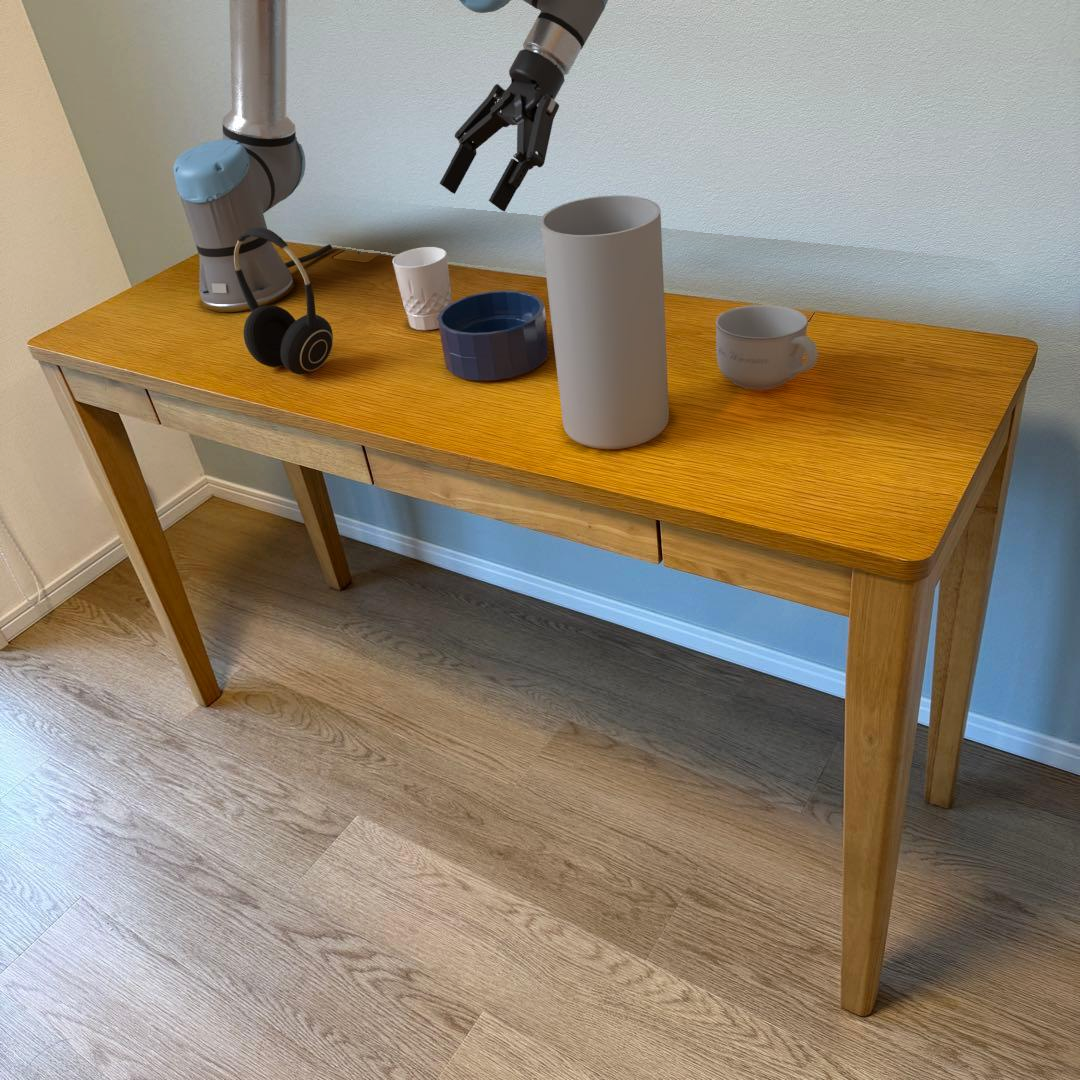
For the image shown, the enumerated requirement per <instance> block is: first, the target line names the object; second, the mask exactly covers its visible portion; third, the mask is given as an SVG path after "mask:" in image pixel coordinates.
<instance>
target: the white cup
mask: <svg viewBox="0 0 1080 1080" xmlns="http://www.w3.org/2000/svg"><path fill="white" fill-rule="evenodd" d="M391 261H392V266H393V270H394V274H395V278H396V282H397V285H398V291H399V294H400V297H401V301H402V304H403V308H404V310H405V314H406V317H407V321H408V324H409V327H410V328H412V329H414V330H417V331H433V330H439V326H438V321H437V317H438V315H439V313H440V311H441V310H443V309H444V308H445V307H446V306H448V305H449V304H451V303H453V302H452V300H453V299H452V297H453V296H452V286H451V284H452V283H451V277H450V268H449V262H448V261H449V260H448V253H447V251H446V250H445V249H443V248H440V247H438V246H437V247H436V246H423V247H417V248H416V247H415V248H412V249H407V250H405V251H402V252H400V253H398V254H397V255H395V256H394V257H393V258H392V260H391Z"/></svg>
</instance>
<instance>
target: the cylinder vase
mask: <svg viewBox="0 0 1080 1080" xmlns="http://www.w3.org/2000/svg"><path fill="white" fill-rule="evenodd" d="M661 214H662V211H661V207H660V205H659V204H658V203H656V202H655V201H653V200H651V199H648V198H644V197H640V196H635V195H634V196H633V195H621V194H620V195H619V194H617V195H613V194H612V195H599V196H591V197H585V198H579V199H575V200H572V201H568V202H565V203H562V204H559V205H556V206H554V207H552V208H551V209H549V210H547V211H546V212H545V213H544V214H543V215H541V218H540V221H539V222H540V232H541V233H540V234H541V242H542V250H543V258H544V268H545V277H546V287H547V295H548V303H549V314H550V322H551V330H552V331H551V332H552V339H553V348H554V356H555V357H554V358H555V365H556V375H557V385H558V392H559V401H560V402H559V403H560V411H561V419H562V427H563V429H564V432H565V433H566V435H567V436H568V437H569V438H570V439H571V440H573V441H574V442H576V443H578V444H580V445H582V446H584V447H589V448H592V449H599V450H623V449H627V448H632V447H636V446H639V445H643V444H645V443H647V442H650V441H651V440H653V439H655V438H656V437H658V436H659V435H660V434H661V433H663V431H664V430H665V428H666V426H667V425H668V423H669V418H670V411H669V410H670V408H669V383H668V360H667V359H668V358H667V357H668V355H667V336H666V335H667V334H666V333H667V332H666V313H665V311H666V310H665V309H666V308H665V288H664V287H665V286H664V285H665V283H664V260H663V239H662V237H663V236H662V215H661Z"/></svg>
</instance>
